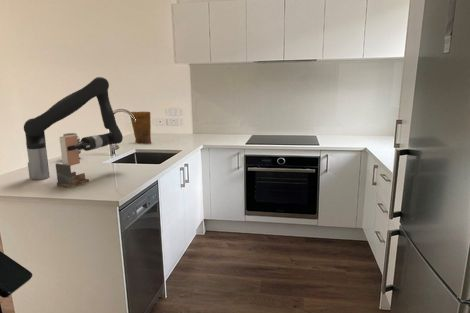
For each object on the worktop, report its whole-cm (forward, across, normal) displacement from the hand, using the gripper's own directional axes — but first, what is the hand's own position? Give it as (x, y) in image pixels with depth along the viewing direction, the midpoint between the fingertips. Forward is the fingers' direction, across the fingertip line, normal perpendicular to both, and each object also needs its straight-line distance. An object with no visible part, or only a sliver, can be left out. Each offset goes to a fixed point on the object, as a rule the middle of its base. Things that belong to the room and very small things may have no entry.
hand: (65, 148), depth 173 cm
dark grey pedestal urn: (-43, -50, +20) cm, 69 cm away
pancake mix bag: (-114, -48, +21) cm, 125 cm away
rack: (-2, 0, +20) cm, 20 cm away
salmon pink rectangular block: (-3, 0, +9) cm, 9 cm away
